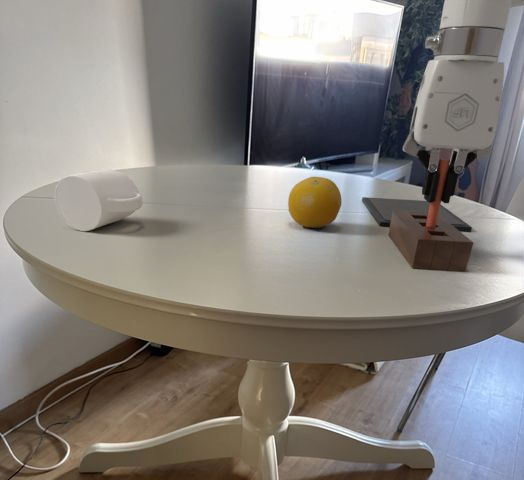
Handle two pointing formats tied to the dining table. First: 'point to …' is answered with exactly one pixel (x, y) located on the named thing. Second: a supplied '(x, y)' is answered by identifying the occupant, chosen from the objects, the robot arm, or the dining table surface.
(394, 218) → the pen stand
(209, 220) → the dining table surface
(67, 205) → the mug
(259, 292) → the dining table surface
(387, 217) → the tablet
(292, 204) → the fruit
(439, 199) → the stylus
